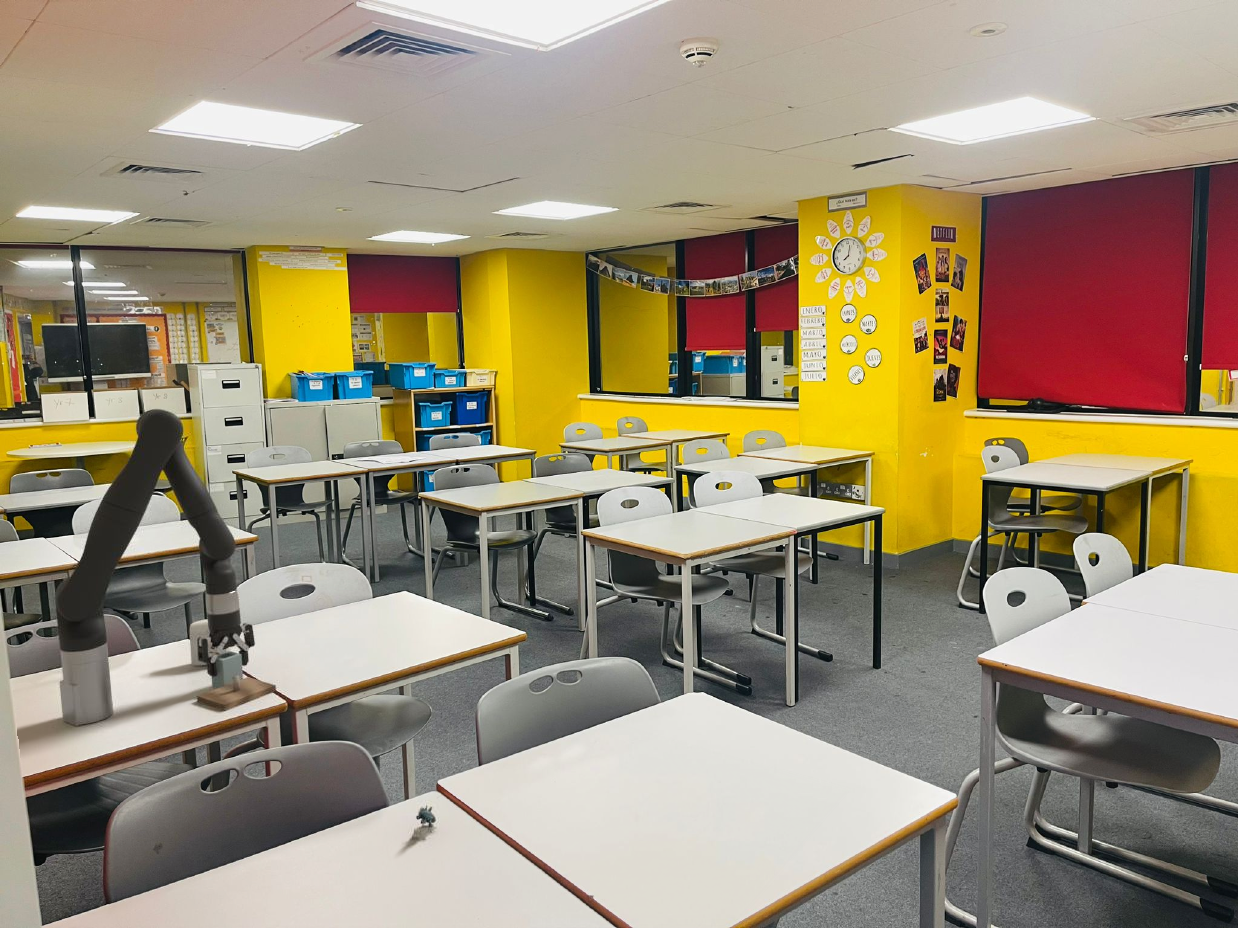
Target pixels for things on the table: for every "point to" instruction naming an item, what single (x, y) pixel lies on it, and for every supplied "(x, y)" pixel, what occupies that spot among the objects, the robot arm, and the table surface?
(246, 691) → the walnut pin plate
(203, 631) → the white rounded block
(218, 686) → the jaw block
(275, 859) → the table surface
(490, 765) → the table surface
